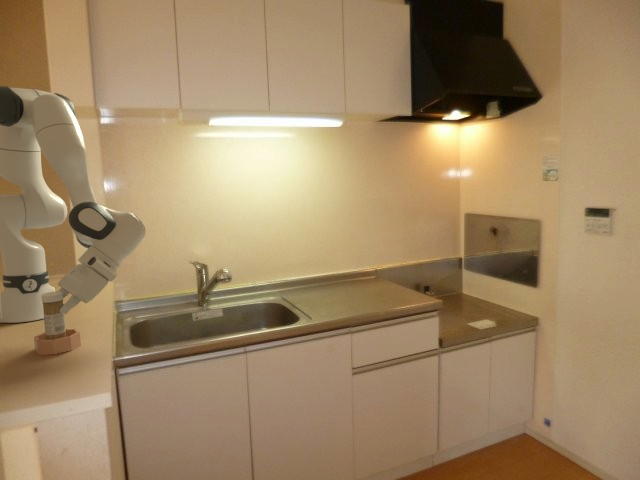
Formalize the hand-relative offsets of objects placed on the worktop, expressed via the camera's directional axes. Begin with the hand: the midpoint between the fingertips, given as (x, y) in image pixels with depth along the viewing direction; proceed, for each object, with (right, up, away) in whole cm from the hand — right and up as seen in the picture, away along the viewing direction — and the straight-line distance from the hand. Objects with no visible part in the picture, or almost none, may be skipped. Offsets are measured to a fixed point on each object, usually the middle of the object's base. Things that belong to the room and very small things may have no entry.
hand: (56, 308), depth 107 cm
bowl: (0, -10, +1) cm, 10 cm away
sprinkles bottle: (0, -10, +1) cm, 10 cm away
